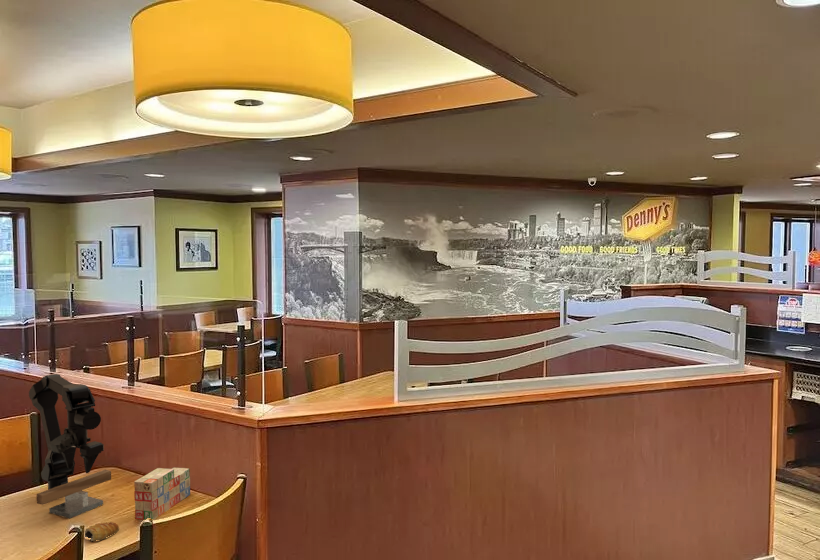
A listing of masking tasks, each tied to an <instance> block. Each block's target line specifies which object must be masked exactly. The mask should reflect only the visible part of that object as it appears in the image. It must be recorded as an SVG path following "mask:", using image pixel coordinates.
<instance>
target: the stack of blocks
mask: <svg viewBox="0 0 820 560" xmlns="http://www.w3.org/2000/svg"><path fill="white" fill-rule="evenodd" d="M190 474H191V472H190V468H186V467H172V468H162V467H157V468H156V469H154V470H152V471H150V472H149V473H147V474H145V475H144V476H142V477H140V478H138V479H136V480H134V484H133V485H134V492H133V493H134V514H135V515H134V518H135V519H136V520H142V521H143V520H144V519H147V518H151V519H154V520H155V519H157V518H158V517H161V515H163V514H165V513H166V512H167V511H169V510H170V509H171V508H173V507H174V506H176V505H177V504H178V503H180V502H182V500H184V499H186V498H188V497H189V496H190V495H191V477H190ZM144 521H145V520H144Z"/></svg>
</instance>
